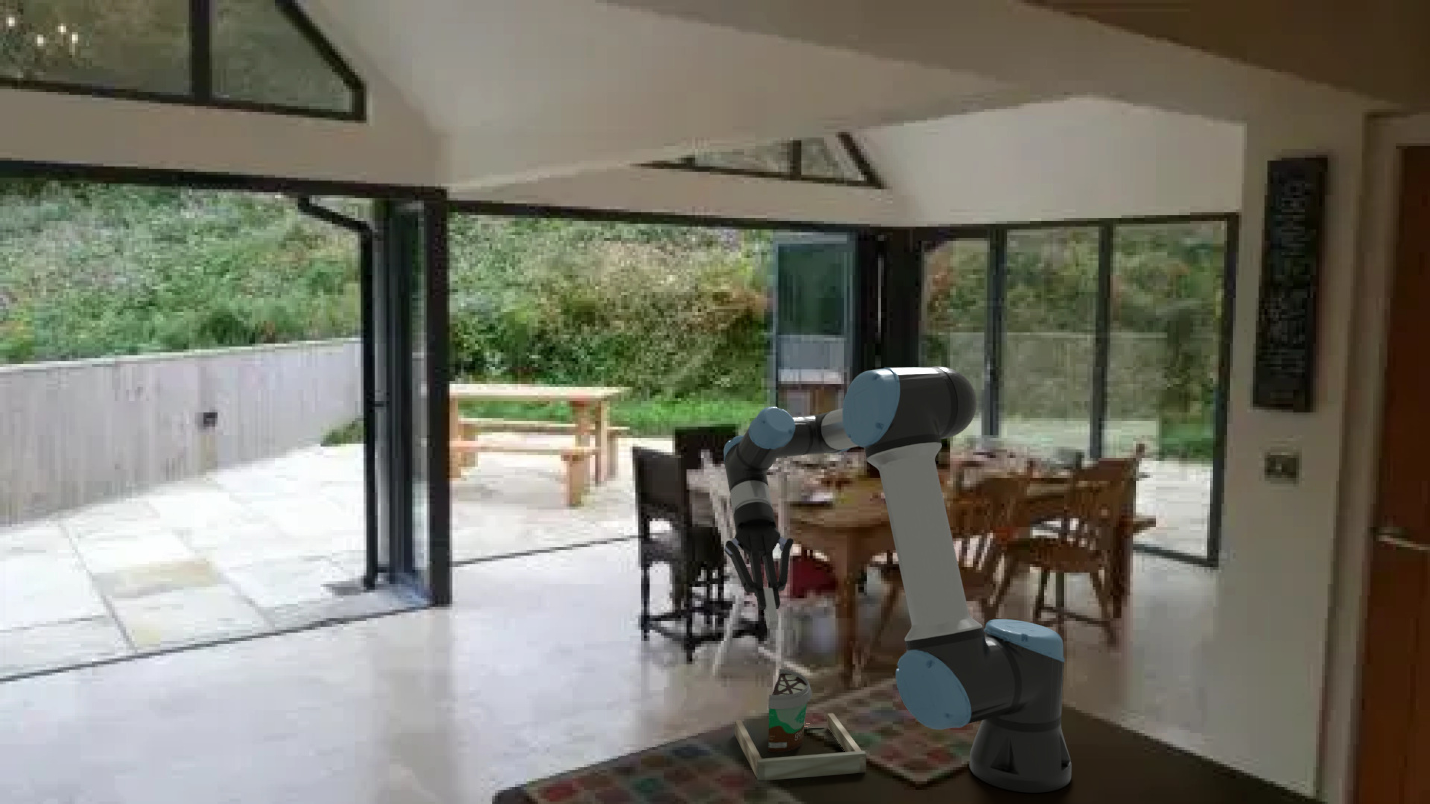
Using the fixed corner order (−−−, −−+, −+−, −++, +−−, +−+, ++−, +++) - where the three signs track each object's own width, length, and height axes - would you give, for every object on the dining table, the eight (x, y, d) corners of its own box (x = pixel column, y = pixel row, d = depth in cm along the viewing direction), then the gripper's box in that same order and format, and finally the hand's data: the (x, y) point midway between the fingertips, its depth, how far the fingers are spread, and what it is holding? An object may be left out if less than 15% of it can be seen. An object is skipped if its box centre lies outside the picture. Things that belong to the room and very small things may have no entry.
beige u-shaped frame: (865, 772, 169) (866, 753, 169) (758, 781, 166) (758, 762, 166) (832, 727, 186) (833, 710, 186) (734, 734, 183) (734, 717, 183)
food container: (805, 760, 174) (807, 700, 172) (766, 756, 175) (768, 696, 174) (814, 727, 186) (816, 671, 184) (778, 723, 187) (779, 667, 186)
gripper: (783, 520, 210) (804, 633, 195) (715, 523, 207) (732, 637, 193) (790, 498, 204) (813, 612, 189) (721, 500, 201) (739, 616, 187)
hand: (772, 624), depth 191 cm, fingers closed
